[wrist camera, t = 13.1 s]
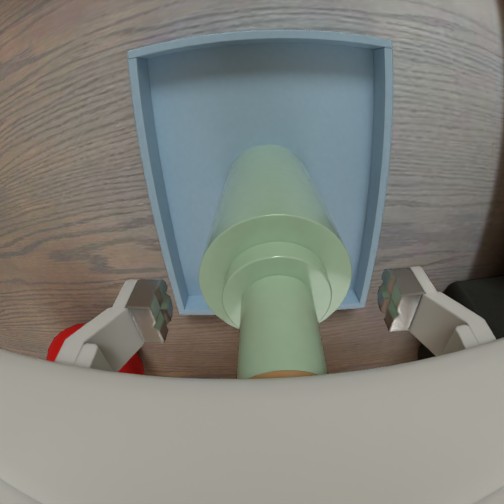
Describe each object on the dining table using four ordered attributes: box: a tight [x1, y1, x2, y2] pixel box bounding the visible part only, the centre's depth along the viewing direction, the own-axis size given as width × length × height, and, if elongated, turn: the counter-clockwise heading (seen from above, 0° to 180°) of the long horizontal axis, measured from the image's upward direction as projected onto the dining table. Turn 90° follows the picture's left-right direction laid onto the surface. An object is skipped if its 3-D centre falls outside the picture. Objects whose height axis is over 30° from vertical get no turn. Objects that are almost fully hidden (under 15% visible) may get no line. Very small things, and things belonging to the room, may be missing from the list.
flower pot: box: [417, 276, 504, 360], centre depth 22 cm, size 19×19×17 cm
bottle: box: [199, 144, 352, 379], centre depth 13 cm, size 6×6×17 cm
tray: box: [127, 30, 393, 315], centre depth 20 cm, size 21×16×3 cm
